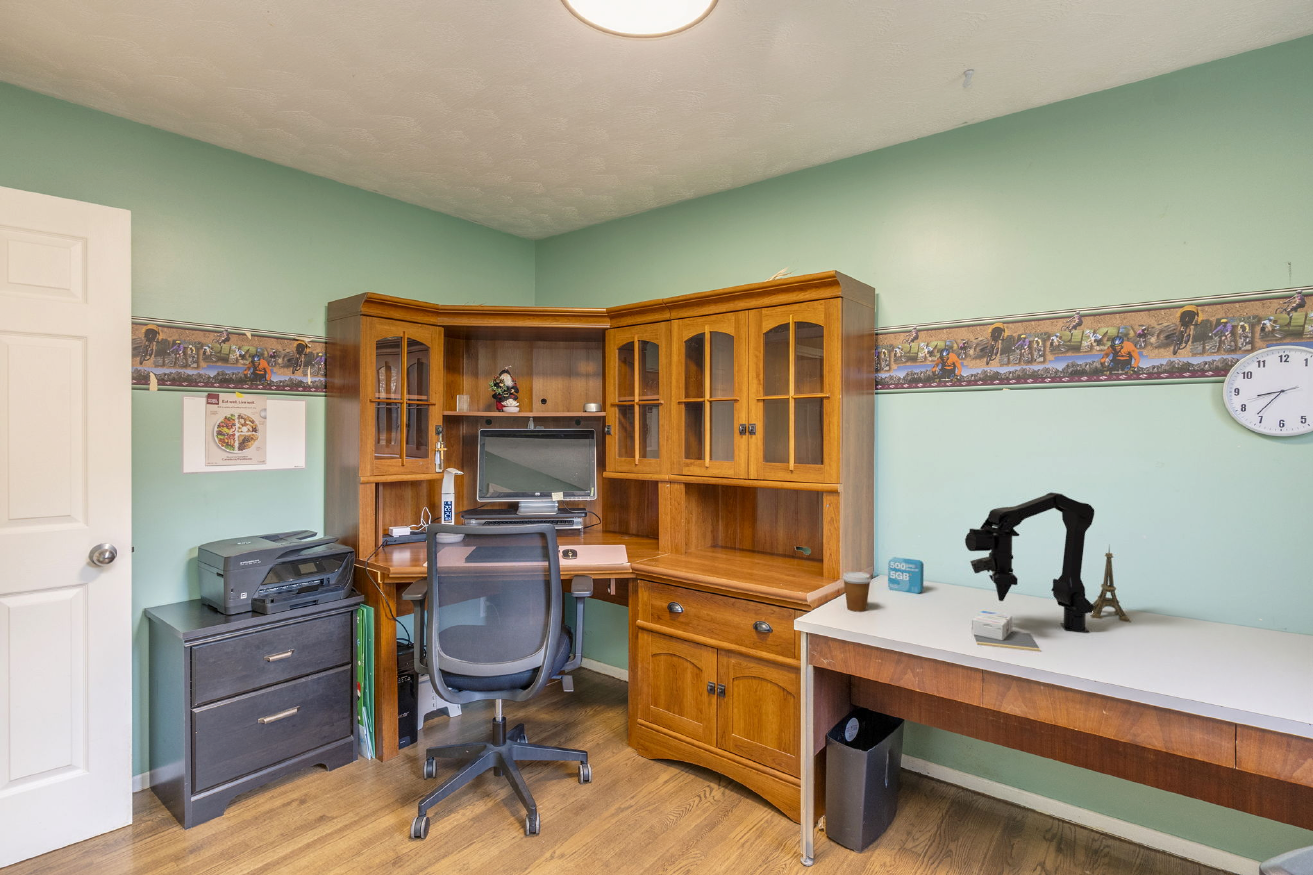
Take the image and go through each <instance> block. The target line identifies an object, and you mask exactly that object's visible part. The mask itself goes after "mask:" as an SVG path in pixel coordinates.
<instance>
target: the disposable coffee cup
mask: <svg viewBox="0 0 1313 875" xmlns="http://www.w3.org/2000/svg"><path fill="white" fill-rule="evenodd" d="M842 580H843V583H844V584H843V586H844V591H845V592H844V593H845V600H846V608H847V610H848V611H852V612H856V611H859V612H860V613H861V612H866V611H867V606H868V600H869V599H868V598H869V592H870V584H871V581H872V577H871V575H870V574H869V573H867V572H862V571H861V572H860V571H848V572H844V573H843V576H842ZM859 612H858V613H859Z"/></svg>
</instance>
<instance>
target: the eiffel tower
mask: <svg viewBox="0 0 1313 875" xmlns="http://www.w3.org/2000/svg"><path fill="white" fill-rule="evenodd" d="M1110 546H1111V545H1108V552H1105V555H1104V556H1105V557H1106V560H1105V568H1104V576H1103V583H1101V584H1100V587H1101V591H1100V593H1099V595H1097V599H1096V600H1095V601H1093V602H1092V603H1091V604H1092V605H1093V606H1094V608H1093V610H1092V611H1093V612H1092V614H1090V617H1091V618H1092V619H1098V620H1099V619H1100V620H1102V619H1103V617H1102V612H1103V609H1104V608H1106V607H1110V608H1112V609H1114V610H1113V613H1114V614H1115V615H1117V616H1118V620H1119V621H1120V622H1126V623H1127V622H1128V623H1131V622H1132V621H1131V619H1130V618H1128V616H1127V614H1126V613H1125V611H1124V609H1123V608H1122V606H1121V605H1120V601H1119V600H1118V598H1117V595H1116V590H1117V588H1116V586H1114V572H1113V562H1112V558H1114V556H1113V553H1111V552H1110V551H1111V550H1110V549H1111V547H1110ZM1107 593H1110V596H1111V597H1107Z"/></svg>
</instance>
